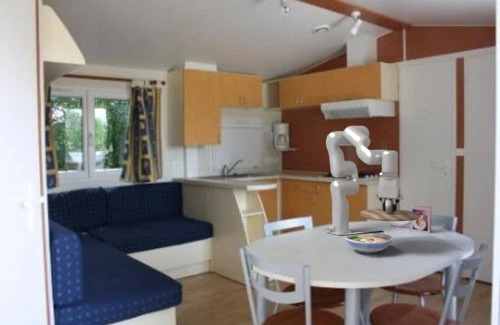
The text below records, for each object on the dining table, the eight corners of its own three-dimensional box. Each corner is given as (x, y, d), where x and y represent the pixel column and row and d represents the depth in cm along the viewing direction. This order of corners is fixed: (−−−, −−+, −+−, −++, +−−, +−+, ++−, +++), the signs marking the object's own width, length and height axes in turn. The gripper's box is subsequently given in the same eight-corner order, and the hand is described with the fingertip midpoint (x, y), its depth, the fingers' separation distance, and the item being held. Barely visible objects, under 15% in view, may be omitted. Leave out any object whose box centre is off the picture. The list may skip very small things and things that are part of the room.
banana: (410, 229, 262) (410, 205, 261) (381, 225, 275) (381, 202, 275) (413, 227, 266) (413, 204, 265) (384, 224, 279) (384, 201, 278)
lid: (373, 222, 201) (373, 204, 200) (351, 211, 229) (351, 195, 229) (432, 220, 204) (432, 202, 203) (403, 209, 233) (403, 194, 232)
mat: (403, 253, 208) (403, 252, 208) (378, 238, 239) (378, 237, 239) (464, 250, 211) (464, 249, 211) (432, 236, 242) (432, 235, 242)
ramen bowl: (357, 260, 198) (357, 242, 198) (334, 248, 220) (334, 232, 220) (404, 255, 205) (404, 238, 204) (378, 244, 227) (378, 228, 226)
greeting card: (410, 231, 256) (410, 206, 255) (416, 229, 261) (416, 204, 260) (429, 234, 248) (429, 208, 247) (434, 232, 253) (435, 206, 252)
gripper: (370, 175, 218) (370, 211, 219) (403, 176, 207) (403, 214, 208) (376, 174, 224) (376, 208, 225) (409, 175, 213) (408, 212, 214)
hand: (389, 211), depth 217 cm, fingers closed on lid, 4 cm apart
